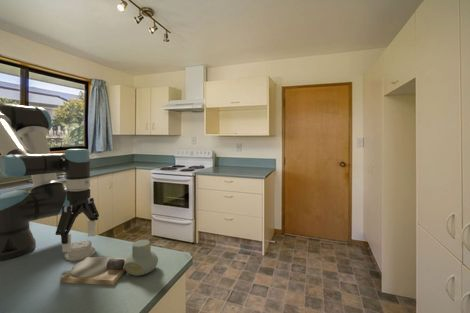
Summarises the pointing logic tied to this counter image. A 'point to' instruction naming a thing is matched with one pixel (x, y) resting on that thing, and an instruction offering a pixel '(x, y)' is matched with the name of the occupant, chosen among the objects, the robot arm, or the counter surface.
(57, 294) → the counter surface
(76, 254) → the mechanical component
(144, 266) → the grey rounded piece
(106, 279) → the flange board
